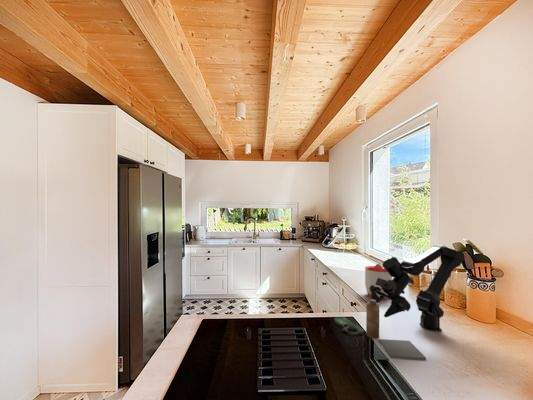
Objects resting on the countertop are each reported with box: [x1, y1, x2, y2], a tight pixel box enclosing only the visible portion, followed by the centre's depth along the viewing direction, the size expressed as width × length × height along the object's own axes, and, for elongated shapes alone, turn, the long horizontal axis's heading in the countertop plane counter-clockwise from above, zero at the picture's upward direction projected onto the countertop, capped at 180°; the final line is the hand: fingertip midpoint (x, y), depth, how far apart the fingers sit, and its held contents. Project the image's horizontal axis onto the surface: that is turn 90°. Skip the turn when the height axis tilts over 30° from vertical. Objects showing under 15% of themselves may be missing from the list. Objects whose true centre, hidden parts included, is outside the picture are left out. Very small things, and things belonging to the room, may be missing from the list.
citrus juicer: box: [364, 263, 393, 300], centre depth 160 cm, size 16×17×20 cm
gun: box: [333, 316, 366, 337], centre depth 116 cm, size 16×2×10 cm
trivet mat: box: [377, 338, 427, 361], centre depth 97 cm, size 12×12×1 cm
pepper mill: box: [365, 298, 380, 340], centre depth 109 cm, size 5×5×14 cm
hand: (376, 312), depth 109 cm, fingers open, 9 cm apart
